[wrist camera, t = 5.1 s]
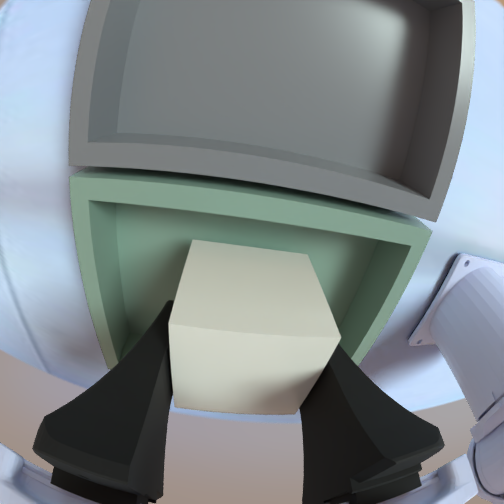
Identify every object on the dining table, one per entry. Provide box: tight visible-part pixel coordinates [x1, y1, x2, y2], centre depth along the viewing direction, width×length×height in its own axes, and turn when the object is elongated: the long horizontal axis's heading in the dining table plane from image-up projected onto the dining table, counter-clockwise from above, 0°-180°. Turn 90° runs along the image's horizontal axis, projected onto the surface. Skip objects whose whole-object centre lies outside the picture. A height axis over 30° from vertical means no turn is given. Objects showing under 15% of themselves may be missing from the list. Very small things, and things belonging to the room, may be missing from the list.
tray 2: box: [69, 166, 432, 369], centre depth 12 cm, size 14×11×3 cm
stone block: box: [168, 239, 341, 415], centre depth 10 cm, size 5×5×5 cm
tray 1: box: [69, 0, 476, 222], centre depth 7 cm, size 14×11×3 cm
